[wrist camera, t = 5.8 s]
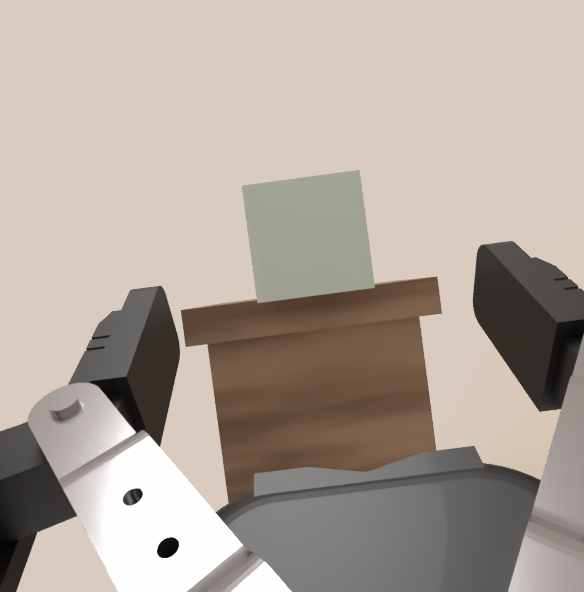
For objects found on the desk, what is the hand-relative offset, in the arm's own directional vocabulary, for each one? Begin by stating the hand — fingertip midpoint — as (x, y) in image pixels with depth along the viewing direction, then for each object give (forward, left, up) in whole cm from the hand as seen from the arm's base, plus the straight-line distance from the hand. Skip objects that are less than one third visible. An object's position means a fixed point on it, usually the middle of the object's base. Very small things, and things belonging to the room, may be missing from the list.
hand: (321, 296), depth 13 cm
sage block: (-3, +17, 0) cm, 17 cm away
